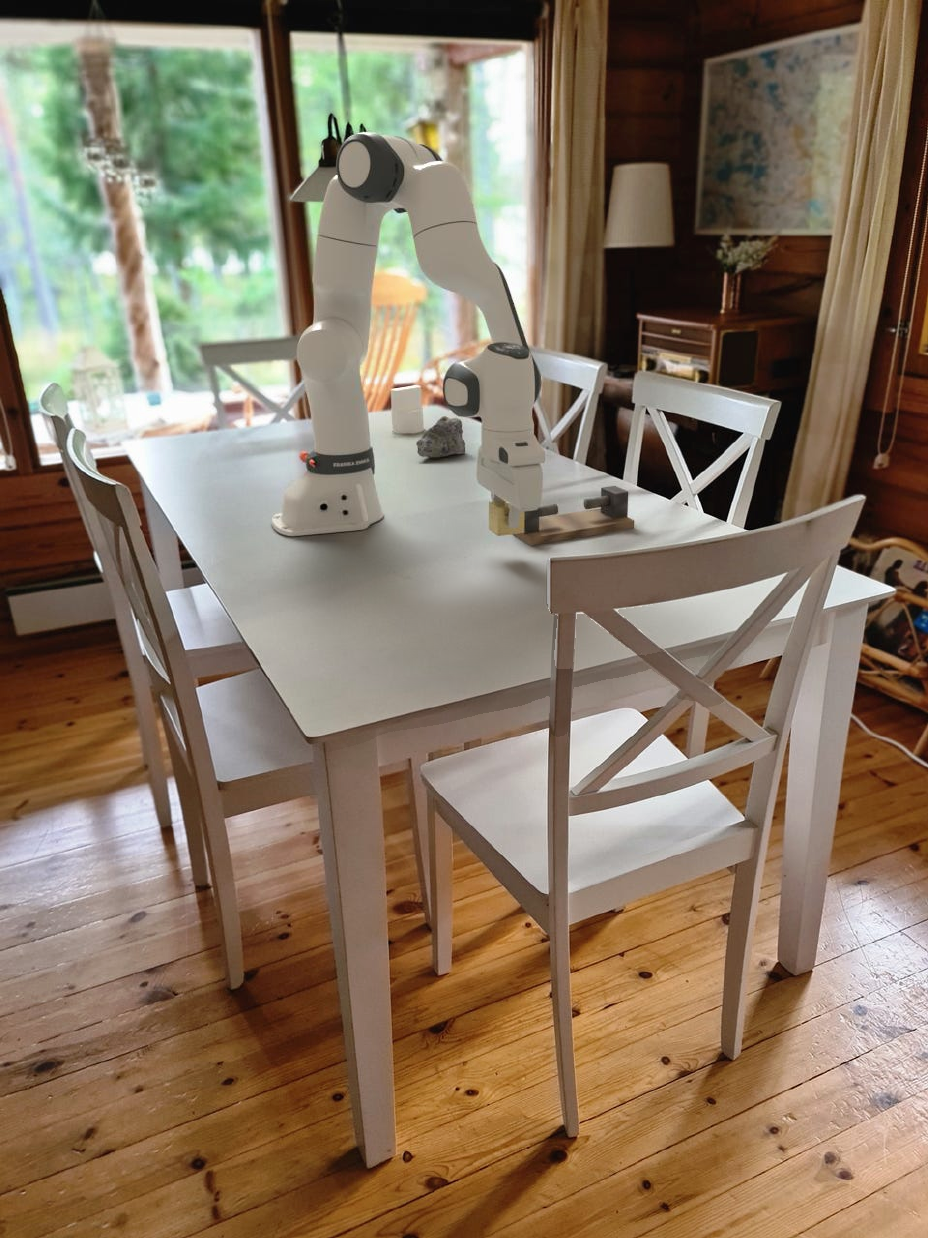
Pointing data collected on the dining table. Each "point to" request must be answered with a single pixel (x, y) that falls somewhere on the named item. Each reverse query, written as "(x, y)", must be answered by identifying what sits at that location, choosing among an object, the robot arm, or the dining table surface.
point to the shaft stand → (578, 519)
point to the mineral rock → (442, 439)
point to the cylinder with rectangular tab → (407, 409)
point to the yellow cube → (502, 519)
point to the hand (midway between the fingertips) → (506, 521)
